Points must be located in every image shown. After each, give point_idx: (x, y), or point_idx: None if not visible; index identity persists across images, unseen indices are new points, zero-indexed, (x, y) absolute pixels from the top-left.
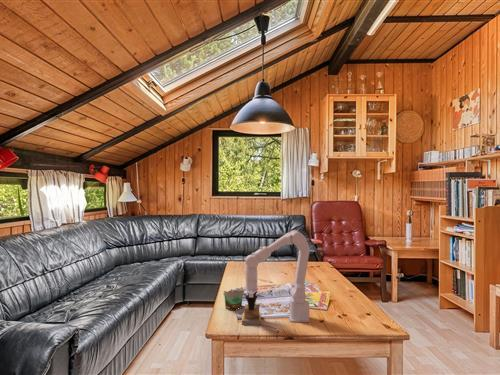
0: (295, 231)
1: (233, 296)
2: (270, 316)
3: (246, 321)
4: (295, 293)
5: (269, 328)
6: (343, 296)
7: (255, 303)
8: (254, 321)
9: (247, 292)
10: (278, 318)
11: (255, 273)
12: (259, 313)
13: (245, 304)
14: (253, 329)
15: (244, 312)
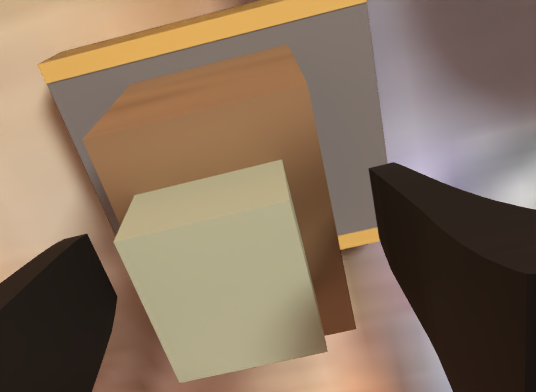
0: None
1: None
2: (402, 301)
3: (72, 128)
4: None
5: (113, 350)
6: None
7: (199, 368)
8: (117, 225)
9: (491, 272)
10: (365, 371)
11: None
12: (364, 229)
13: (307, 89)
14: (10, 223)
15: (358, 8)
